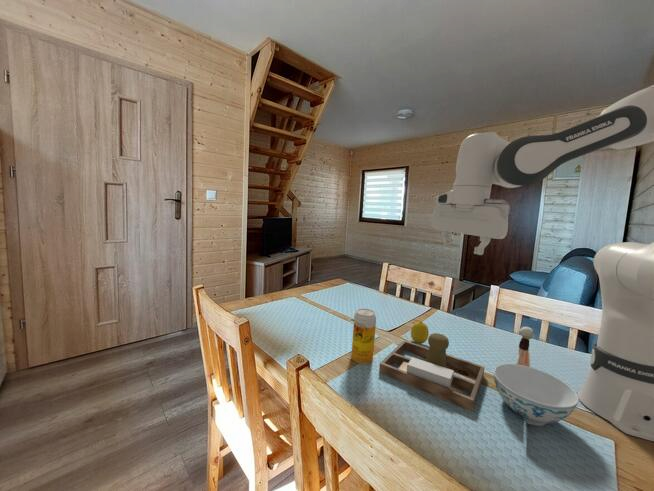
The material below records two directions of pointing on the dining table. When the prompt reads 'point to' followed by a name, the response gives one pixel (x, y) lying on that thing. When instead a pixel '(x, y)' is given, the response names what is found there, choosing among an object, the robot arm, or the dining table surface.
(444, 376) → the grey offcut
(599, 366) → the robot arm
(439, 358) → the brown tall rounded piece
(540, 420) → the chinaware
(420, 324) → the lemon
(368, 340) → the beer can
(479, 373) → the walnut divided tray
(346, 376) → the dining table surface
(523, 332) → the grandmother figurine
